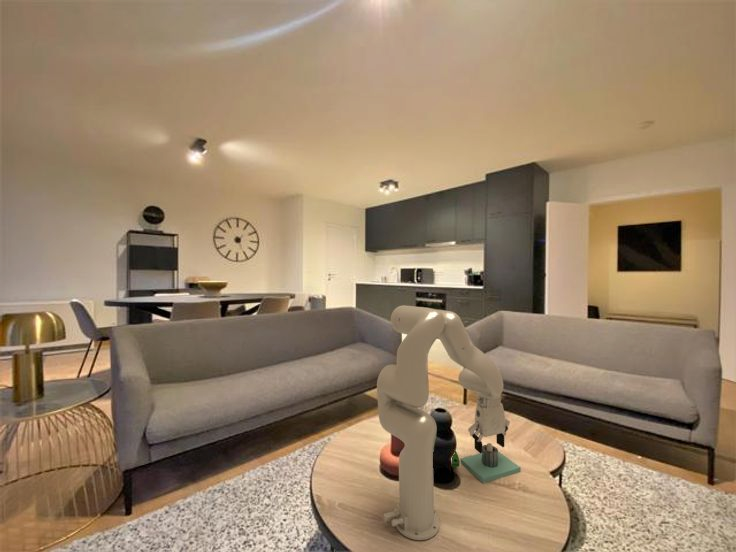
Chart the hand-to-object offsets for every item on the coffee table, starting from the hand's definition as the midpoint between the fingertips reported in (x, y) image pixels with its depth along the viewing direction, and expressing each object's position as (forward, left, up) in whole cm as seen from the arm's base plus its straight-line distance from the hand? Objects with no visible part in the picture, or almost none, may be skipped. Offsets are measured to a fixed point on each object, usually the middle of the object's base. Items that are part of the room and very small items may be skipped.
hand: (489, 448), depth 112 cm
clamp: (-17, +5, -7) cm, 19 cm away
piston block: (0, 0, -7) cm, 7 cm away
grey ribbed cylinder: (0, 0, -5) cm, 5 cm away
